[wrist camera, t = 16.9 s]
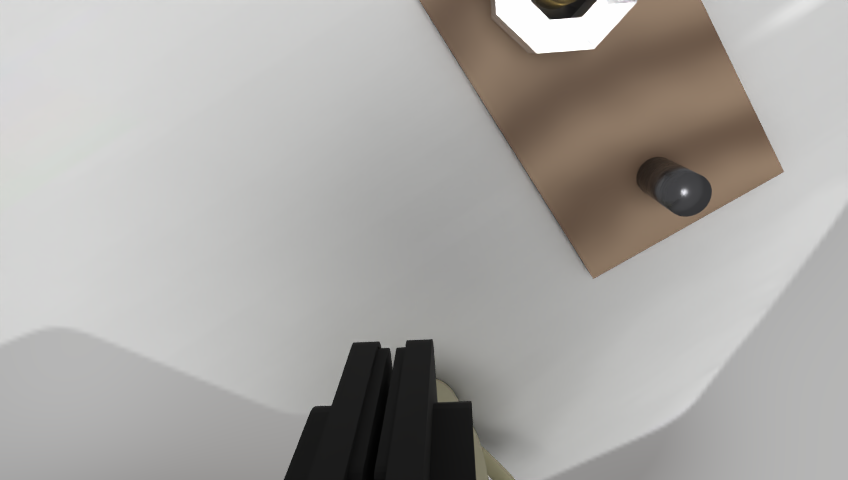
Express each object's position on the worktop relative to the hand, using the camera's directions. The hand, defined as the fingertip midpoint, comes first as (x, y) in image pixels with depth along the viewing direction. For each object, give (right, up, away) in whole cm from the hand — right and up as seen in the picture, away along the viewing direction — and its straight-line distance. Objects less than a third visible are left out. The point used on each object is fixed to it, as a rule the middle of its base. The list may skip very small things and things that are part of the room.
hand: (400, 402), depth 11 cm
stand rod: (+15, +7, +22) cm, 28 cm away
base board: (+11, +13, +22) cm, 28 cm away
